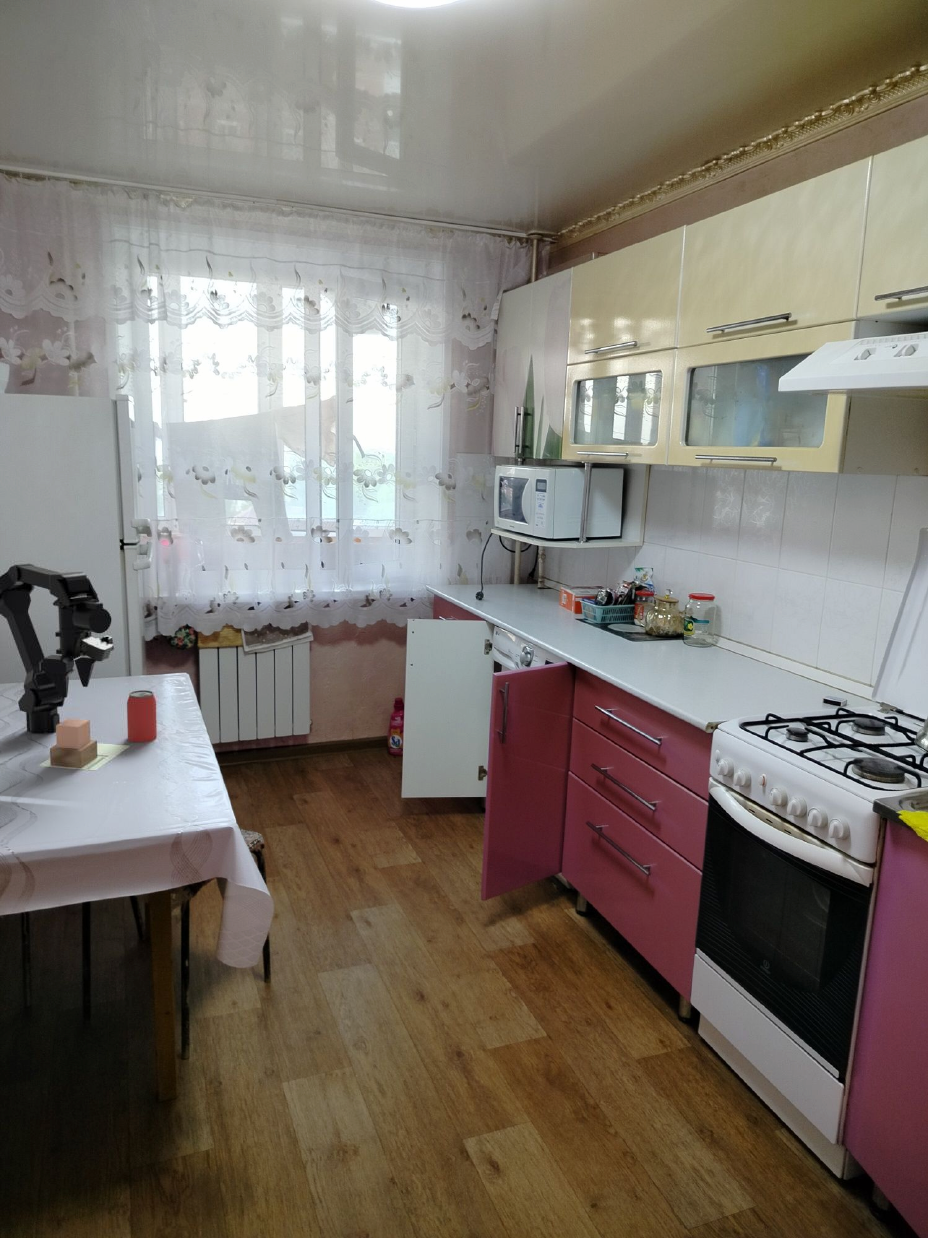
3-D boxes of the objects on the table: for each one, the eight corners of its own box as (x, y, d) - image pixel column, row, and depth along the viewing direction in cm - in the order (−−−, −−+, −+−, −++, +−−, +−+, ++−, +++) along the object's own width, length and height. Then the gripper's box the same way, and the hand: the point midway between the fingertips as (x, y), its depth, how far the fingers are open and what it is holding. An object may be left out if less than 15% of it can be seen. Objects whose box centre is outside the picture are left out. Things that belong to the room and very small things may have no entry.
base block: (50, 765, 185) (49, 748, 185) (67, 754, 192) (67, 738, 191) (81, 768, 185) (80, 750, 184) (97, 757, 192) (97, 740, 191)
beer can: (147, 746, 202) (146, 698, 200) (122, 743, 203) (120, 695, 201) (162, 738, 208) (161, 691, 206) (137, 735, 210) (136, 688, 207)
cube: (56, 747, 185) (55, 725, 184) (68, 739, 190) (68, 718, 189) (78, 749, 185) (78, 727, 184) (90, 741, 190) (89, 720, 189)
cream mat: (38, 769, 185) (38, 765, 185) (77, 744, 201) (76, 741, 201) (95, 773, 184) (95, 770, 184) (130, 749, 200) (130, 745, 200)
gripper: (85, 637, 186) (87, 706, 189) (125, 621, 204) (127, 684, 207) (36, 634, 186) (39, 702, 189) (81, 618, 205) (83, 680, 208)
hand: (75, 692), depth 198 cm, fingers open, 9 cm apart
